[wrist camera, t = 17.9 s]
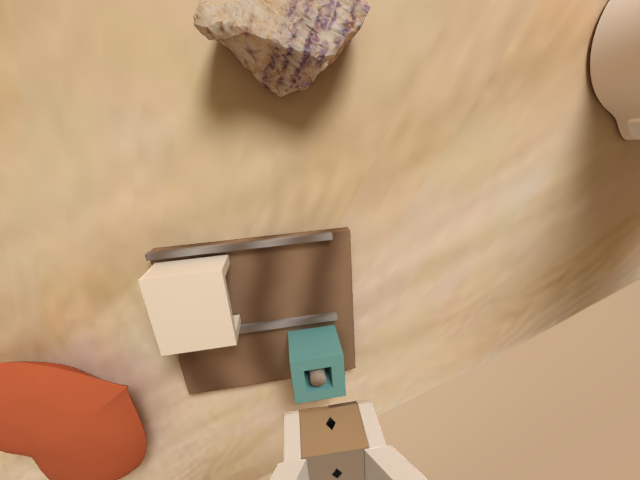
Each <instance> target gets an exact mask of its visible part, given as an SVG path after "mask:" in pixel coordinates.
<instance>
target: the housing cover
mask: <svg viewBox="0 0 640 480" xmlns="http://www.w3.org/2000/svg"><path fill="white" fill-rule="evenodd" d="M229 265H230V261H229V255H219V256H210V257H202V258H193V259H184V260H175V261H167V262H158V263H154V264H153V265H152V266H151V268H150V269H149V270H148V271H147V272H146V273H145V274H144V275H143V276H142V277H141V278H140V279H139V280H138V282H139V286H140V289H141V292H142V295H143V299H144V302H145V305H146V308H147V311H148V315H149V318H150V321H151V324H152V327H153V331H154V334H155V337H156V340H157V344H158V347H159V350H160V353H161V356H165V355H172V354H179V353H186V352H193V351H200V350H207V349H214V348H220V347H227V346H234V345H237V341H238V336H239V331H240V326H241V319H240V314H239V315H233V314H232V309H231V304H230V299H229V294H228V289H227V284H226V279H225V276H226V273H227V270H228V268H229Z"/></svg>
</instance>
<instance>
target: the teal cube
mask: <svg viewBox="0 0 640 480" xmlns="http://www.w3.org/2000/svg"><path fill="white" fill-rule="evenodd" d="M288 341H289V360H290V369H291V377H292V384H293V392H294V399H295V404H299V403H305V402H310V401H316V400H322V399H328V398H334V397H340V396H346V389H345V372H344V355H343V351H342V348H341V344H340V341H339V338H338V335H337V331H336V328H335V325H330V326H323V327H316V328H309V329H302V330H295V331H288ZM320 368H324V371H325V376H326V382H325V383H324V384H323V385H321V386H314V385H312V384H311V380H310V373H309V370H314V369H320Z"/></svg>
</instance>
